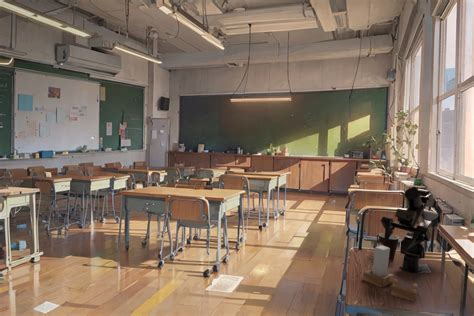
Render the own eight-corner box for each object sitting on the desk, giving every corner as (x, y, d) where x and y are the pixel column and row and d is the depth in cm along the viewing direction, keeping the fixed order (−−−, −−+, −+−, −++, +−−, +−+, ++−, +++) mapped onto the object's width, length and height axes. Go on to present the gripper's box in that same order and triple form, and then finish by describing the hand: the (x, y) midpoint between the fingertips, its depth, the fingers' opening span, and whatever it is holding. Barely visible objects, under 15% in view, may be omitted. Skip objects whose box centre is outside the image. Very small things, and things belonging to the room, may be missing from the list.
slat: (377, 277, 151) (381, 245, 150) (386, 281, 148) (390, 248, 147) (371, 280, 148) (375, 247, 147) (379, 283, 146) (383, 250, 144)
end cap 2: (393, 288, 144) (394, 278, 143) (416, 294, 140) (417, 284, 140) (390, 297, 137) (392, 286, 136) (414, 303, 133) (415, 292, 133)
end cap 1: (374, 277, 153) (375, 267, 153) (392, 284, 148) (393, 274, 147) (362, 281, 148) (363, 272, 148) (381, 289, 142) (382, 279, 142)
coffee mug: (398, 262, 173) (401, 240, 172) (378, 259, 174) (380, 237, 173) (392, 253, 184) (394, 232, 183) (373, 250, 185) (375, 230, 184)
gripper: (385, 196, 161) (367, 226, 155) (431, 207, 147) (414, 240, 141) (392, 213, 167) (376, 242, 161) (437, 224, 152) (421, 257, 147)
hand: (395, 245), depth 152 cm, fingers open, 9 cm apart
